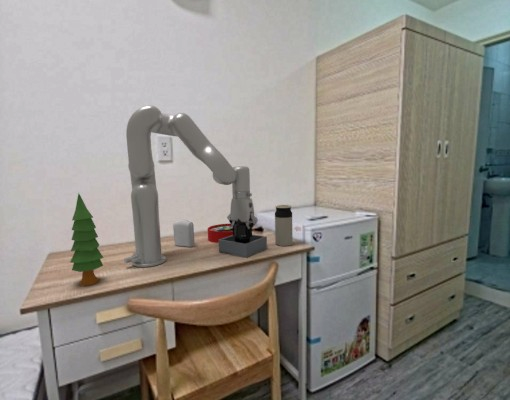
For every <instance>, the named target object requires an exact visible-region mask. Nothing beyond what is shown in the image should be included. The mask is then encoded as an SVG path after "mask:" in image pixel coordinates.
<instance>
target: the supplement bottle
mask: <svg viewBox="0 0 510 400" xmlns="http://www.w3.org/2000/svg"><path fill="white" fill-rule="evenodd" d="M246 229H247V226H246V223H245V222H241V221H240V219H239V218H238V221H237V223H236V224H235V225H234V237H235V242H238V243H244V244H246V243H249V242H250V238H247V237H246Z"/></svg>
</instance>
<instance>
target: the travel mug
mask: <svg viewBox="0 0 510 400" xmlns="http://www.w3.org/2000/svg"><path fill="white" fill-rule="evenodd" d="M275 209H276V210H275V212H274V235H275V236H274V237H275V238H274V239H275V240H274V241H275V242H274V243H275V245H276V246H280V247H289V246H292V245H293V244H294V243H293V242H294V241H293V212H292V205H290V204H278V205H275Z"/></svg>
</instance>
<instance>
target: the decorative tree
mask: <svg viewBox="0 0 510 400" xmlns="http://www.w3.org/2000/svg"><path fill="white" fill-rule="evenodd" d="M93 218H94V216H93V215H92V213H91V212H90V210H89V209H88V208H87V205H86V203H85V202H84V200H83V198H82V196H81V194H80V192H78V194H77V199H76V205H75V210H74V213H73V216H72V219H71V220H72V221H73V223H72V227H71V231H73V233H72V237H71V241H74V242H73V244H72V247H71V250H70V252H74V253H73V255H72V256H71V257H72V258H71V259H70V261H69V262H70V263H73V265H72V269H71V271H74V272H78V273H82V275H81V280H80V282H79V285H80V286H82V287H83V286H92V285H95V284H96V283H98V282H99V281H100V278H98V277H97V276H96V274H95V270H97V269H99V268H101V267H103V266H104V265H103V262H102V261H101V259H104V256H103V254H102V252H101V251H100V250H99V246H100V243H99V242H98V240H97V238H99V236H98V234H97V232H96V230H95V229H96V228H97V227H96V225H95V222H94V221H93Z"/></svg>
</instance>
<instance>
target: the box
mask: <svg viewBox="0 0 510 400" xmlns="http://www.w3.org/2000/svg"><path fill="white" fill-rule="evenodd" d="M267 242H268V237H267V236H264V235H258V234H252V237H250V242H249V243H246V244H244V243H238V242H235V237H234V236H233V235H232V236H229V237H225V238H222V239H219V240H218V243H217V244H218V253H222V254H226V255H231V256H236V257H240V258H246V259H248V258H249V257H251V256H254V255H256V254H258V253H261V252H263V251H265V250H267V249H268V243H267Z"/></svg>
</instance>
